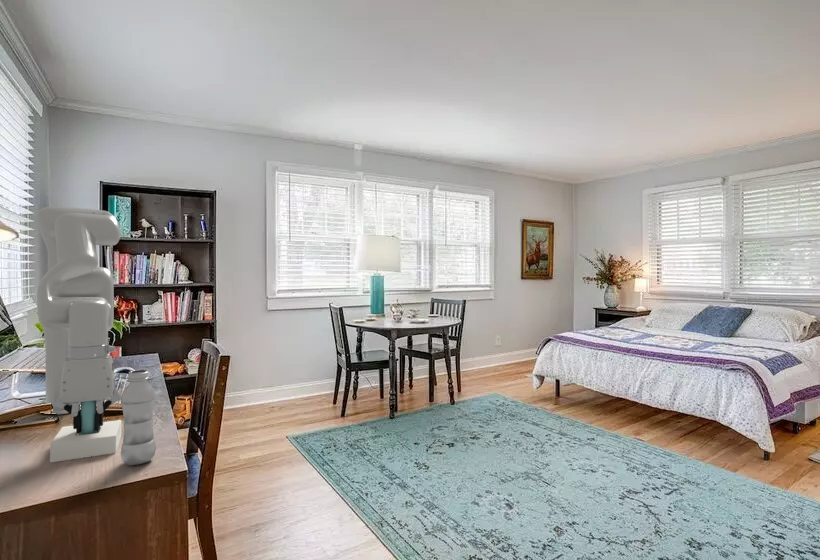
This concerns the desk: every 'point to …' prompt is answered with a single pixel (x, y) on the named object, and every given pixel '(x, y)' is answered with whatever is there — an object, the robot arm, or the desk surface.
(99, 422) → the robot arm
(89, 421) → the peg
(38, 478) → the desk surface
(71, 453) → the hole block
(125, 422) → the plastic bottle
